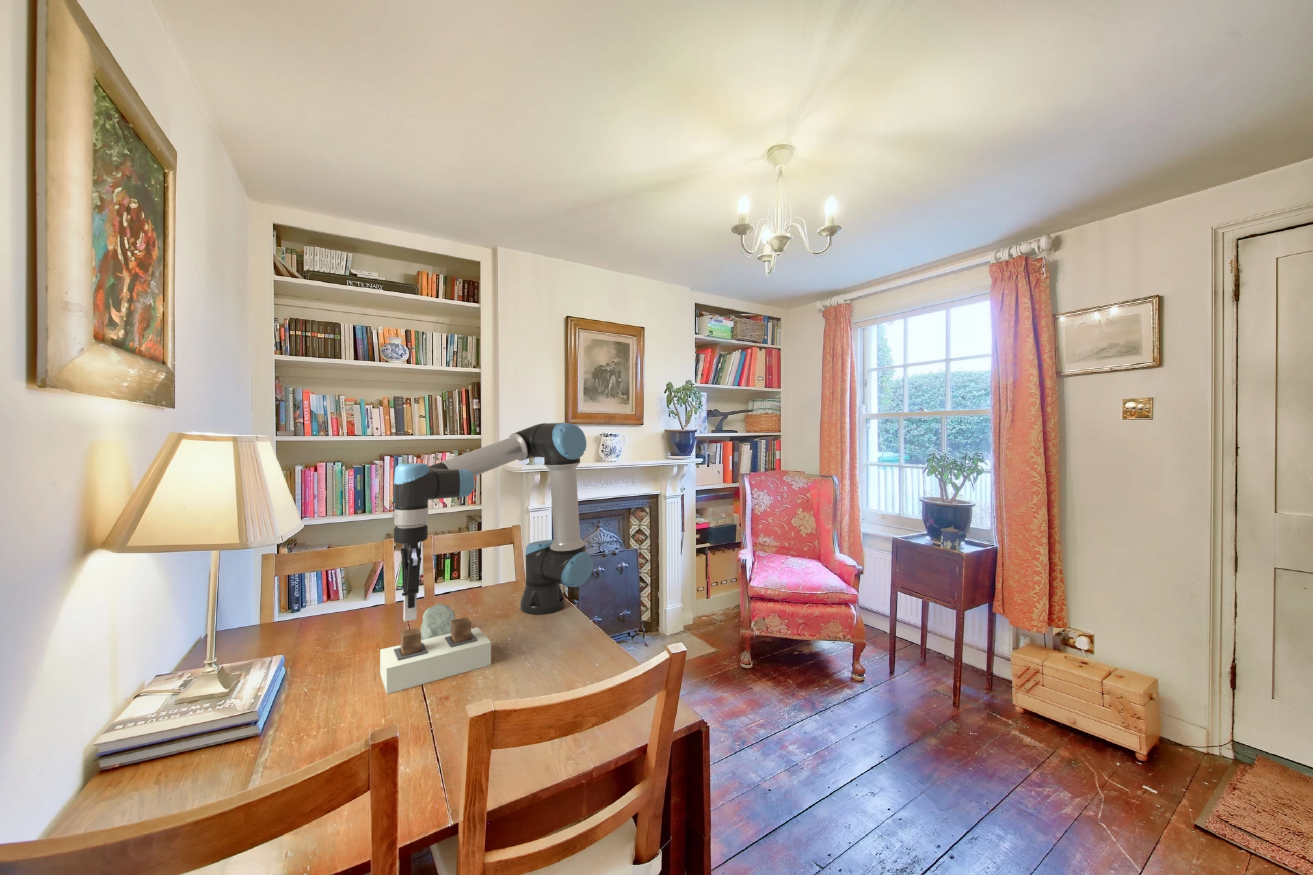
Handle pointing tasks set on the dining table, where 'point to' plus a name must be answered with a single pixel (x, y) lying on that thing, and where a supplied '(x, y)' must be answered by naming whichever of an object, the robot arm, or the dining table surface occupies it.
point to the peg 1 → (410, 641)
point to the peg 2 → (460, 630)
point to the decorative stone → (436, 621)
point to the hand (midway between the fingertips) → (409, 619)
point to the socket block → (433, 660)
